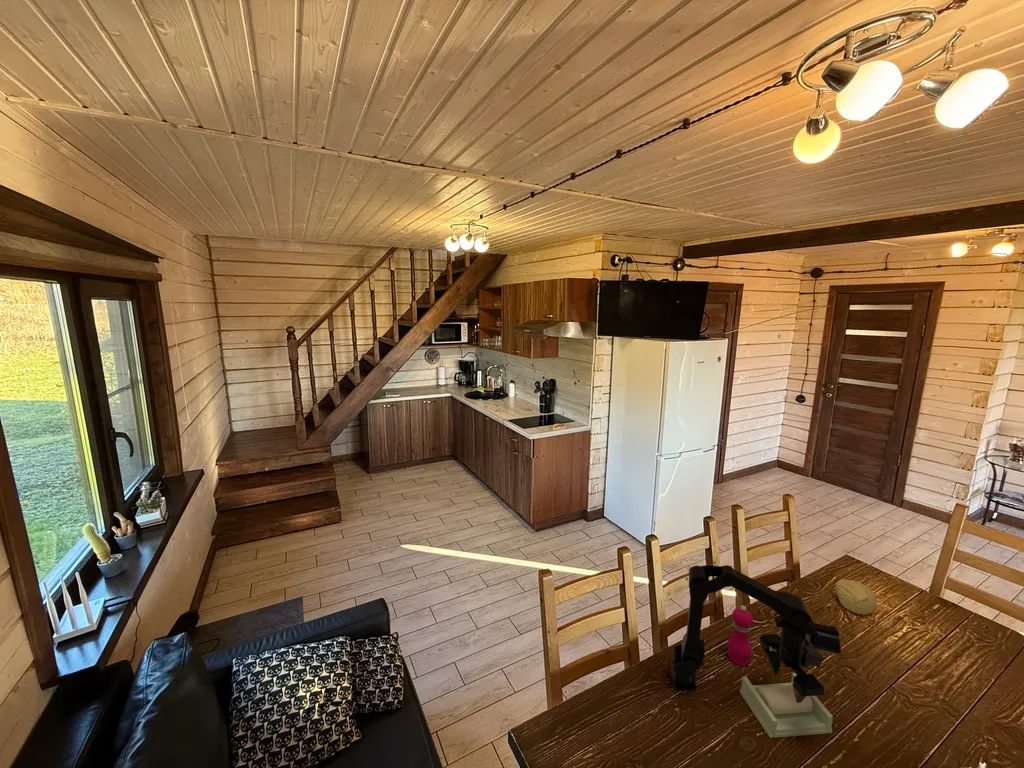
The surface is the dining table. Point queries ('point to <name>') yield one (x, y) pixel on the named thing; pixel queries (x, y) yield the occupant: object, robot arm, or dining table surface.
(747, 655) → the pepper mill
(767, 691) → the kitchen roll
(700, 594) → the robot arm
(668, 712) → the dining table surface
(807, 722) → the roll cradle
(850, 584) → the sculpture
